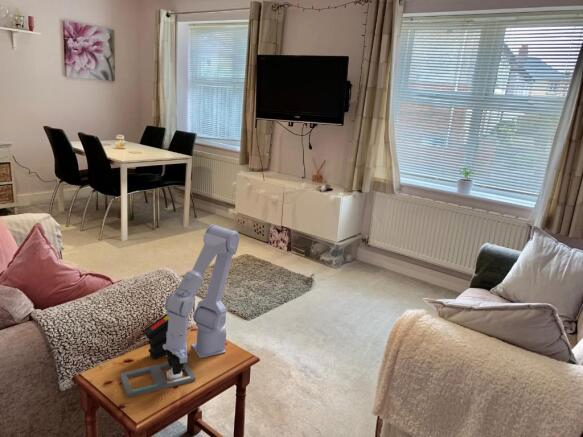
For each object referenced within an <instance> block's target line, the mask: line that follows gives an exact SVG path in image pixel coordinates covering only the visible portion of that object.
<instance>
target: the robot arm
mask: <svg viewBox="0 0 583 437" xmlns="http://www.w3.org/2000/svg"><path fill="white" fill-rule="evenodd" d="M240 239H241V238H240V235H239V233H238V231H237V230H233V229H230V228H225V227H222V226H219V225H216V224H214V223H212V224H210V225H209V226H208V227H207V228H206V230H205V233H204V234H203V246H202V247H201V251H200V253H199V255H198V257H197V258H196V261H195V263H194V266H193V268H192V269H191V270H188V271H186V273H185V274H184V276H183V278H182V280H181V281H180V283H179V285H178V286H177V288H176V289H175V291H174V292H173V293H171V294H169V295H168V296H167V298H166V300H165V304H164V309H165V310H166V314H167V315H168V317H169V318H168V332H166V338H167V341H166V344H163V349H164V350H166V353H167V356H166V357H167V361H168V362H167V363H169V366H172V368H171V369H172V370H173V374H174V375H176V374H180V373H181V371H182V370H183V365H184V363H185V362H187V363H188V359H189V358H190V354H189V353H188V352H187V348H188V346H187V345H188V343H187V337H188V326H189V316H190V314H191V312H192V310H193V309H194V305H195V301H196V295H197V293H198V292H199V290H200V288H201V286H202V285H203V283H204V277H203V275H204V274H205V272H206V271H207V269H208V267H209V266H210V265H211V263H212V261H213V260H214V259H215V260H214V266H213V268H212V271H211V272H212V273H211V278H210V281H209V284H208V285H209V286H208V288H207V293H206V297H205V298H204V299H201V300H199V301H198V302H197V306H196V308H195V309H194V312H193V315H192V317H193V318H192V319H193V322H194V323H195V327H197V332H196V343H192V344H191V347H192V348H193V350H194V351H195V353H196V354H197V356H198V358H199V359H201V358H206V357H211V356H215V355H221V354H225V353H226V343H227V330H226V326H225V324H226V321H227V317H226V315H227V307H226V306H225V305H224V303H223V302H222V298H223V294H224V291H225V286H226V282H227V279H228V276H229V272H230V268H231V263H232V260H233V256H234V255H236V254H237V251H238V248H239V244H240V241H241V240H240ZM215 257H216V258H215ZM172 353H173V354H172Z"/></svg>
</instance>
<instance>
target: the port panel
mask: <svg viewBox="0 0 583 437" xmlns="http://www.w3.org/2000/svg"><path fill="white" fill-rule="evenodd" d="M169 369H172V366H169V363H168V362H165V363H161V364H156V365H152V366H148V367H142V368H137V369H132V370H127V371H124V372H119V377H120V380H121V383H122V386H123V389H124V392H125V394H126V398H132V397H136V396H139V395H140V396H141V395H145V394H148V393H152V392H157V391H160V390H163V389H168V388H172V387H177V386H179V385H180V386H181V385H184V384H188V383H192V382H195V381H196V376H195V374H194V373H193V371H192V368H191V367H190V365H189V363H188V361H187V362H185V363H184V365H183V368H182V370H183V371H184V373H185V374H186V376H182V377H181V378H178V379H174V380H170V379H169V380H166V377H165V375H164V373H163V370H169ZM148 374H150V375H151V378H152V381H153V384H150V385H145V386H141V387H137V388H133V389H132V387H131V384H130V381H129V379H130V378H133V377H139V376H142V375H148Z"/></svg>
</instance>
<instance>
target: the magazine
mask: <svg viewBox="0 0 583 437" xmlns="http://www.w3.org/2000/svg"><path fill="white" fill-rule="evenodd" d="M168 318H169V317H168V315H167V313H165V314H164V315H163V316H161V317H160V318H158V319H157V320H156V321H154V322H153V323H151V324H149V325H148V326H147V327H145V328H144V329H143V331H144V332H143V334H144V336H145V337H147V338H148V340H147V344H148V345H149V349H148V352H149V356H150V358H152V360H154V361H155V360H158V359H161V358H164V357H167V353H166V350H164V349H163V344H166V341H167V338H166V332H168Z"/></svg>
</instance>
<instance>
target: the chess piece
mask: <svg viewBox="0 0 583 437" xmlns="http://www.w3.org/2000/svg"><path fill="white" fill-rule="evenodd" d="M172 354H173V353H172ZM165 375H166V377H165V378H167V379H168V380H169V381H170V380H174V379H178V378H182V377H183V371H182V370H181V373H180V374H176V375H174V374H173V370H172V368H170V369H167V371H166V373H165Z"/></svg>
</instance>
